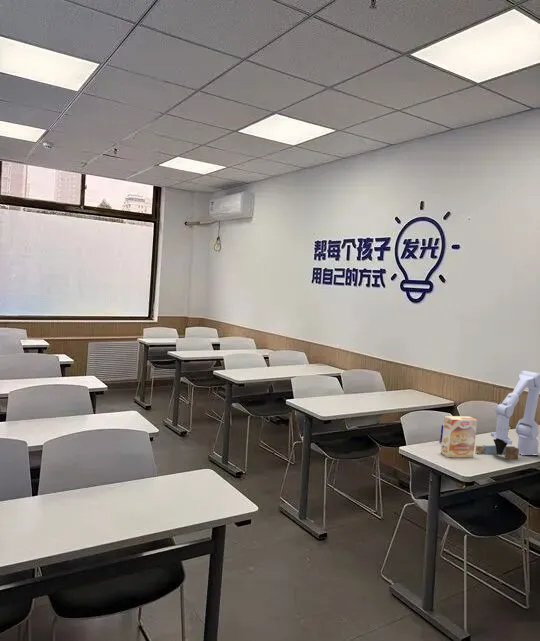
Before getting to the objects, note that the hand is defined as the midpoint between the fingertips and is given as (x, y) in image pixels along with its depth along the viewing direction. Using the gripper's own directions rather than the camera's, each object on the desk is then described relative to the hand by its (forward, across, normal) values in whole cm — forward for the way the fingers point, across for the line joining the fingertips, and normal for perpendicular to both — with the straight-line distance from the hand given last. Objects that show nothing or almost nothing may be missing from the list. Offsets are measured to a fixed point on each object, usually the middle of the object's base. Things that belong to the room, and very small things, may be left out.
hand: (499, 454), depth 264 cm
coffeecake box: (+2, -3, -22) cm, 22 cm away
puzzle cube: (+2, -24, -13) cm, 27 cm away
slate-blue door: (+2, -6, +1) cm, 6 cm away
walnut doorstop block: (+2, 0, +7) cm, 7 cm away
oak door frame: (+2, -6, 0) cm, 6 cm away
